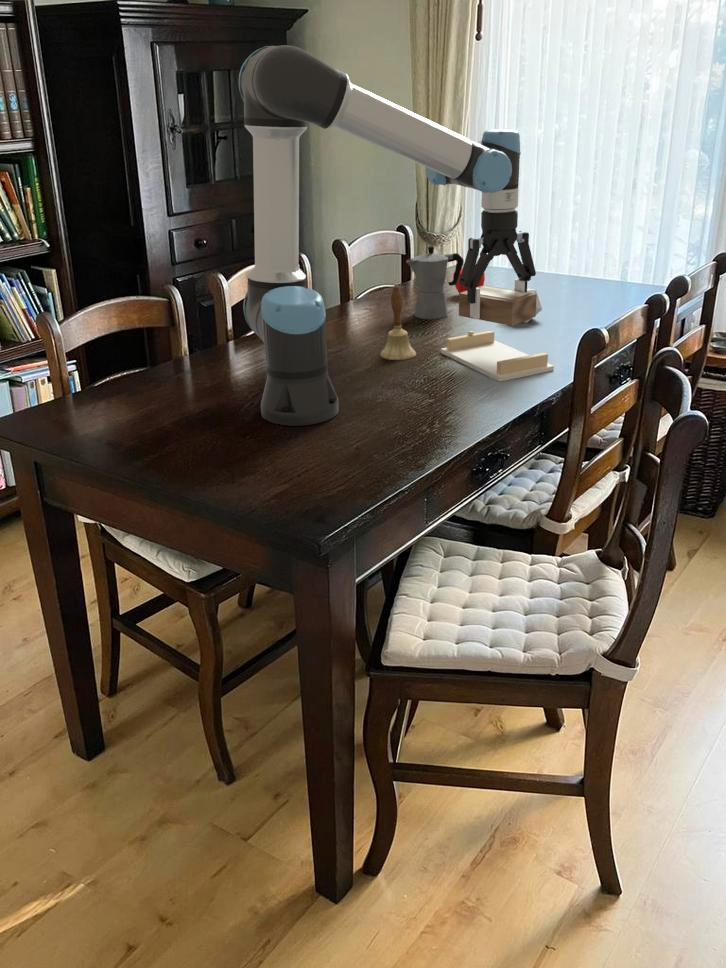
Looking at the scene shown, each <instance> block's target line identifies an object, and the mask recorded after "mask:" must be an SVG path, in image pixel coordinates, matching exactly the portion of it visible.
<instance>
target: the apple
mask: <svg viewBox="0 0 726 968" xmlns="http://www.w3.org/2000/svg"><path fill="white" fill-rule="evenodd" d="M462 270H463V267H462V269H461V272H460V275H459V278H458V281H457V284H456V285H454V287H455V289H456V290H457V293H458V294H459V293H461V292H464V291H467V287H465V286H462V285H460V284H459V280H460V277H461V273H462ZM454 273H455V271H454V272H453V274H454ZM485 274H486V273H485V272H484V274H483V276H482V278H481V280H480V282H479V284H478V286H477V287H480V286H483V285H485V279H486V275H485Z"/></svg>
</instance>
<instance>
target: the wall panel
mask: <svg viewBox="0 0 726 968" xmlns="http://www.w3.org/2000/svg"><path fill="white" fill-rule="evenodd" d="M440 353H441V354H442V355H444V356H446V357H448V358H451V359H452V360H454V361H457V362H459V363H461V364H463V365H465V366H466V367H468V368H471V369H473V370H474V371H476V372H479V373H481V374H482V375H484V376H485V375H486V376H487V377H489V378H491V379H493V380H494V381H497V382H504V381H508V380H513V379H518V378H522V377H523V378H524V377H528V376H533V375H537V374H543V373H548V372H552V371H553V372H554V371H555V369H554V367H555V365H552V364H551V363H548V360H549V358H548V357H549V354H548V353H546V352H539V353H534V354H527V353H525V352H522V351H521V350H518V349H515V348H513V347H511V346H509V345H506V344H504V343H501V342H499V341H497V340H496V339H495V331H493V330H487V331H480V332H475V333H474V331H473V330H468V332H467V334H464V335H459V336H454V337H453V336H452V337H447V338H446V347H442V348H440Z"/></svg>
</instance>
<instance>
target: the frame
mask: <svg viewBox="0 0 726 968" xmlns="http://www.w3.org/2000/svg"><path fill="white" fill-rule="evenodd" d="M477 288H480V319H477V320H480V321H485V322H489V323H495V324H499V325H505V326H510V327H512V326H515V325H517V324H518V325H519V324H520V323H524V322H523V321H526V320H528V319H531V318H532V319H534V318H536V317H537V315H536V298H537V295H538V293H537V294H535V293H529V292H523V291H516V290H514V289H509V288H502V287H498V286H490V285H485V284H484V285H483V286H480V287H477ZM458 316H459V317H464V318H469V319H474V320H476V319H475V318H472V317H470V303H468V301H467V291H464V292H461V293H459V292H458ZM532 319H531V320H532Z"/></svg>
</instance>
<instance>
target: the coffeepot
mask: <svg viewBox="0 0 726 968" xmlns="http://www.w3.org/2000/svg"><path fill="white" fill-rule="evenodd" d="M434 249H435V246H433V245H429V246H428V247H427V250H428V253H424V254H420V255H416V256H414V257H412V258H409V259H406V264H407V265H409V267H410V268H411V270H412V271H413V273H414V275H415V279H416V284H417V286H418V287H417V288H418V291H417V296H416V302H415V303H416V304H415V309H414V317H415V318H418V319H421V320H441V319H444V318H446V317H447V316H448V313H449V309H448V305H447V299H446V298H447V297H446V292H445V291H446V290H445V289H444V288H445V286H444V285H445V283H446V277H447V276H446V275H447V271H448V270H447V269H448V263H451V262H454V261H456V264H455V270H454V272H455V273H454V272H453V275H452V277H453V278H452V281H449V282H448V283H447V284H448V286H451V287H452V286H455V285H456V284H457V281H458V278H459V275H460V272H461V269H462V268H463V266H464V263H465V260H464V258H463V257H462V256H461V255H460V253H458V252H457V253H456V252H455V253H447V254H444V255H442V254H439V253H435V252H434Z"/></svg>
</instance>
